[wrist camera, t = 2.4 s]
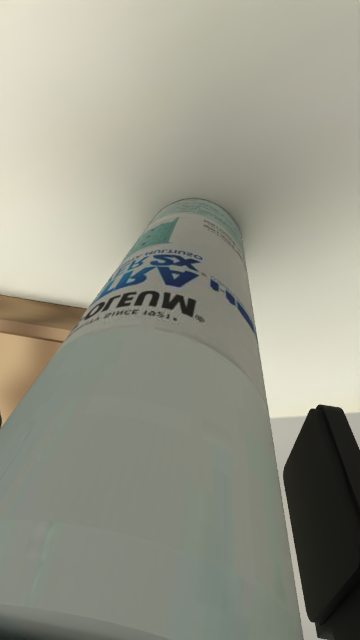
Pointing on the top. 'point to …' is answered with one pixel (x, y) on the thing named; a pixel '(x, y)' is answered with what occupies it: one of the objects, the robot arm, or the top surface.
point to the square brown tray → (29, 344)
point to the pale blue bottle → (150, 459)
